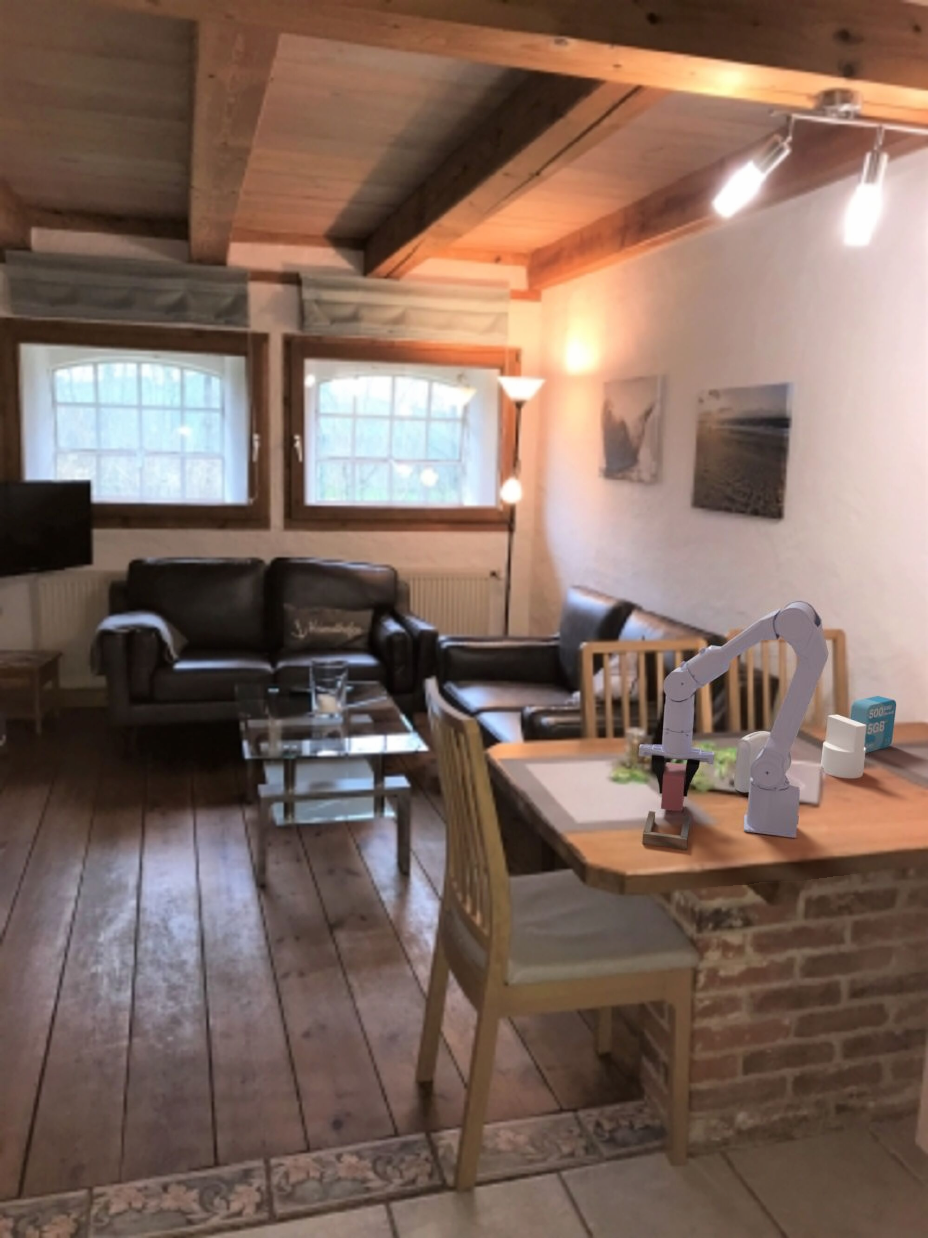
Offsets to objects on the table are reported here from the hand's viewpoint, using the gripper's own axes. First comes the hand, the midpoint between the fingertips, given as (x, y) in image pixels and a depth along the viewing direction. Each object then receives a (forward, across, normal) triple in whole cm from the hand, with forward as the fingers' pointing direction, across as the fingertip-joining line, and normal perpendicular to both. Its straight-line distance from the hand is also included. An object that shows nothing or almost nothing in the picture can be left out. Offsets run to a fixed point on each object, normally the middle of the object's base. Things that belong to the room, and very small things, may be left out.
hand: (673, 793), depth 201 cm
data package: (+4, -43, -58) cm, 72 cm away
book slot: (+3, 0, +13) cm, 13 cm away
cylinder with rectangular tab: (+4, -35, -37) cm, 51 cm away
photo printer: (+4, -16, -19) cm, 25 cm away
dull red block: (+2, 0, 0) cm, 2 cm away
